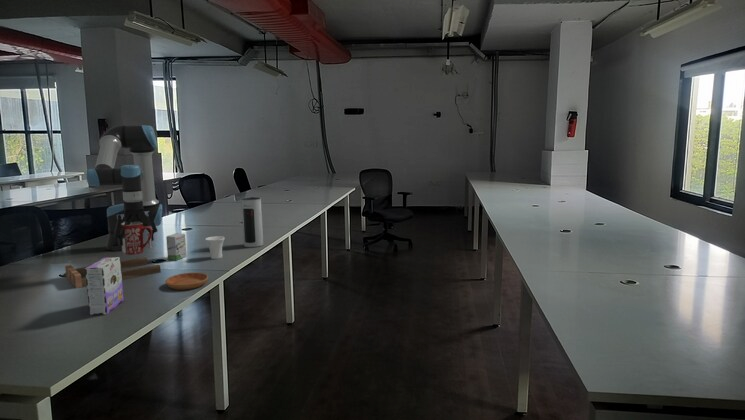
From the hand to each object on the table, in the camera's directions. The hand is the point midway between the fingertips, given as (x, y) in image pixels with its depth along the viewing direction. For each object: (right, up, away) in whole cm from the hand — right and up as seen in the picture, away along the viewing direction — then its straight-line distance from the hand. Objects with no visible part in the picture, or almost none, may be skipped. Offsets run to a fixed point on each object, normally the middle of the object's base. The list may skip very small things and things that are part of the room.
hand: (137, 250), depth 211 cm
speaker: (+40, -2, +48) cm, 62 cm away
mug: (0, -1, 0) cm, 1 cm away
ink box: (+9, -6, +21) cm, 24 cm away
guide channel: (-6, -10, -5) cm, 13 cm away
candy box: (+12, -16, -45) cm, 49 cm away
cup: (+28, -6, +23) cm, 36 cm away
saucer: (+30, -13, -20) cm, 38 cm away
